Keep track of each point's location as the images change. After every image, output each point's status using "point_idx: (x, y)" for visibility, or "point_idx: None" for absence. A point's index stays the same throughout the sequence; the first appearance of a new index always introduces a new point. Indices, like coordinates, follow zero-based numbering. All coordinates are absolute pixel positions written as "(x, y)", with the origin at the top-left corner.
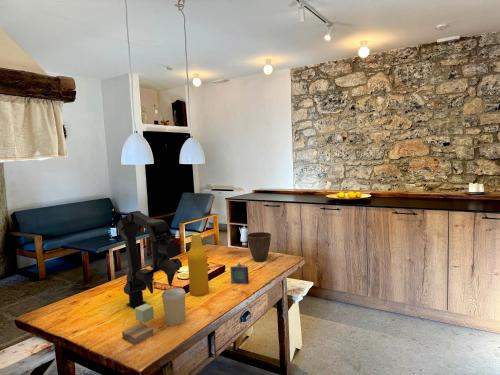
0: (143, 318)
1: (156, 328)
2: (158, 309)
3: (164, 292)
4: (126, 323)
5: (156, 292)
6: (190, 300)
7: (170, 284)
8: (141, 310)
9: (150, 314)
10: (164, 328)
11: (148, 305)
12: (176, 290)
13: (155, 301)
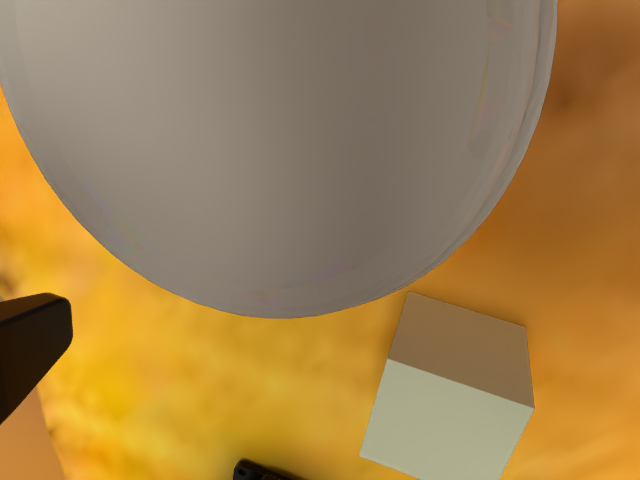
0: (524, 349)
1: (608, 129)
2: (271, 331)
3: (309, 285)
4: (580, 453)
5: (98, 465)
6: (33, 166)
7: (41, 314)
8: (521, 426)
9: (435, 326)
10: (586, 34)
11: (384, 411)
12: (107, 80)
13: (187, 415)
